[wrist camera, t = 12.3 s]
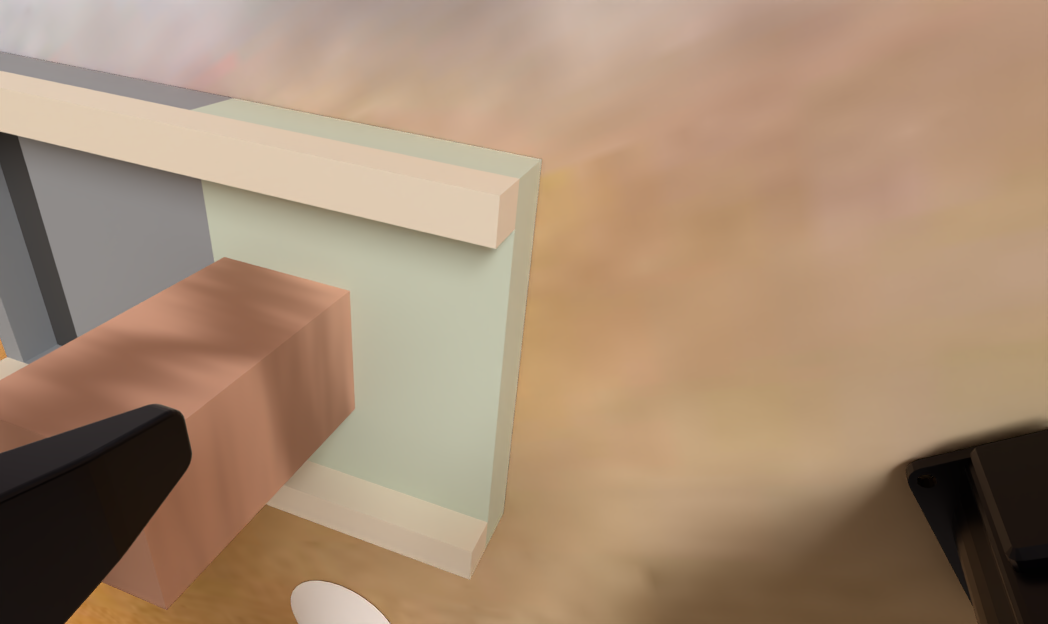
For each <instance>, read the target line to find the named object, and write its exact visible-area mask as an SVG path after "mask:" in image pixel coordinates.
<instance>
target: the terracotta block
mask: <svg viewBox="0 0 1048 624" xmlns="http://www.w3.org/2000/svg"><path fill="white" fill-rule="evenodd" d="M149 404H161V405H164V406H167V407H171V408H174V409H177V410H179V411H180V412H181V413H182V414H183V416H184V418H185V422H186V426H187V431H188V435H189V440H190V444H191V448H192V459H191V463H190V465H189V467H188V469H187V471H186V472H185V473H184V475H183V476H182V478H181V479H180V480H179V482H178V483H177V484H176V486H175V487H174V488H173V490H172V491H171V493H170V494H169V495H168V497H167V498H166V499H165V501H164V502H163V503H162V505H161V506H160V507H159V509H158V510H157V512H156V513H155V514H154V516H153V517H152V518H151V520H150V521H149V522H148V524H147V525H146V526H145V528H144V529H143V531H142V532H141V533H140V535H139V536H138V537H137V539H136V540H135V541H134V543H133V544H132V545H131V547H130V548H129V549H128V551H127V552H126V553H125V554H124V556H123V557H122V558H121V560H120V561H119V562H118V563H117V564H116V566H115V567H114V568H113V569H112V570H111V572H110V573H109V574H108V575H107V576H106V577H105V578H104V580H103V581H102V582H103V583H106V584H108V585H110V586H113V587H115V588H117V589H120V590H122V591H124V592H127V593H129V594H131V595H133V596H136V597H138V598H140V599H143V600H145V601H147V602H150V603H152V604H154V605H157V606H159V607H161V608H163V609H166V610H167V609H168V608H169V607H170V606H171V605H172V604H173V603H174V602H175V601H176V599H177V598H178V597H179V596H180V595H181V594H182V593H183V592H184V591H185V590H186V589H187V588H188V587H189V586H190V585H191V583H192V582H193V581H194V580H195V579H196V578H197V577H198V576H199V575H200V574H201V573H202V572H203V571H204V570H205V569H206V567H207V566H208V565H209V564H210V563H211V562H212V561H213V560H214V559H215V558H216V557H217V556H218V555H219V554H220V552H221V551H222V550H223V549H224V548H225V547H226V546H227V545H228V544H229V543H230V542H231V541H232V540H233V539H234V538H235V536H236V535H237V534H238V533H239V532H240V531H241V530H242V529H243V528H244V527H245V526H246V525H247V524H248V523H249V522H250V520H251V519H252V518H253V517H254V516H255V515H256V514H257V513H258V512H259V511H260V510H261V509H262V508H263V507H264V506H265V504H266V503H267V502H268V501H269V500H270V499H271V498H272V497H273V496H274V495H275V494H276V493H277V492H278V491H279V490H280V488H281V487H282V486H283V485H284V484H285V483H286V482H287V481H288V480H289V479H290V478H291V477H292V476H293V475H294V474H295V472H296V471H297V470H298V469H299V468H300V467H301V466H302V465H303V464H304V463H305V462H306V461H307V460H308V459H309V458H310V456H311V455H312V454H313V453H314V452H315V451H316V450H317V449H318V448H319V447H320V446H321V445H322V444H323V443H324V441H325V440H326V439H327V438H328V437H329V436H330V435H331V434H332V433H333V432H334V431H335V430H336V429H337V428H338V427H339V425H340V424H341V423H342V422H343V421H344V420H345V419H346V418H347V417H348V416H349V415H350V414H351V413H352V412H353V411H354V409H355V395H354V373H353V351H352V329H351V306H350V291H349V290H345V289H341V288H338V287H334V286H330V285H326V284H323V283H319V282H315V281H312V280H308V279H304V278H301V277H297V276H293V275H289V274H286V273H282V272H278V271H275V270H271V269H267V268H264V267H260V266H256V265H252V264H249V263H245V262H241V261H238V260H234V259H230V258H227V257H223V258H221V259H220V260H218V261H216V262H214V263H212V264H210V265H209V266H207V267H205V268H203V269H201V270H200V271H198V272H196V273H194V274H192V275H190V276H189V277H187V278H185V279H183V280H181V281H180V282H178V283H176V284H174V285H172V286H170V287H169V288H167V289H165V290H163V291H161V292H160V293H158V294H156V295H154V296H152V297H150V298H149V299H147V300H145V301H143V302H141V303H140V304H138V305H136V306H134V307H132V308H130V309H129V310H127V311H125V312H123V313H121V314H120V315H118V316H116V317H114V318H112V319H110V320H109V321H107V322H105V323H103V324H101V325H100V326H98V327H96V328H94V329H92V330H90V331H89V332H87V333H85V334H83V335H81V336H80V337H78V338H76V339H74V340H72V341H70V342H69V343H67V344H65V345H63V346H61V347H60V348H58V349H56V350H54V351H52V352H50V353H49V354H47V355H45V356H43V357H41V358H39V359H38V360H36V361H34V362H32V363H30V364H29V365H27V366H25V367H23V368H21V369H19V370H18V371H16V372H14V373H12V374H10V375H9V376H7V377H5V378H3V379H1V380H0V453H2V452H5V451H8V450H11V449H14V448H17V447H20V446H23V445H26V444H29V443H32V442H36V441H39V440H42V439H45V438H48V437H51V436H54V435H57V434H60V433H63V432H66V431H69V430H72V429H75V428H78V427H81V426H84V425H87V424H91V423H94V422H97V421H100V420H103V419H106V418H109V417H112V416H115V415H118V414H121V413H124V412H127V411H130V410H133V409H136V408H139V407H142V406H146V405H149Z"/></svg>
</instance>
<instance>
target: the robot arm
mask: <svg viewBox="0 0 1048 624" xmlns="http://www.w3.org/2000/svg"><path fill="white" fill-rule="evenodd" d="M191 459H192V448H191V444H190V440H189V435H188V431H187V426H186V422H185V418H184V416H183V414H182V413H181V412H180V411H179V410H177V409H174V408H171V407H167V406H164V405H161V404H149V405H146V406H142V407H139V408H136V409H133V410H130V411H127V412H124V413H121V414H118V415H115V416H112V417H109V418H106V419H103V420H100V421H97V422H94V423H91V424H87V425H84V426H81V427H78V428H75V429H72V430H69V431H66V432H63V433H60V434H57V435H54V436H51V437H48V438H45V439H42V440H39V441H36V442H32V443H29V444H26V445H23V446H20V447H17V448H14V449H11V450H8V451H5V452H2V453H0V624H65V623H66V621H67V620H68V619H69V618H70V617H71V616H72V615H73V614H74V612H75V611H76V610H77V609H78V608H79V607H80V606H81V604H82V603H83V602H84V601H85V600H86V599H87V598H88V597H89V595H90V594H91V593H92V592H93V591H94V590H95V589H96V587H97V586H98V585H99V584H100V583H101V582H102V581H103V580H104V578H105V577H106V576H107V575H108V574H109V573H110V572H111V570H112V569H113V568H114V567H115V566H116V564H117V563H118V562H119V561H120V560H121V558H122V557H123V556H124V554H125V553H126V552H127V551H128V549H129V548H130V547H131V545H132V544H133V543H134V541H135V540H136V539H137V537H138V536H139V535H140V533H141V532H142V531H143V529H144V528H145V526H146V525H147V524H148V522H149V521H150V520H151V518H152V517H153V516H154V514H155V513H156V512H157V510H158V509H159V507H160V506H161V505H162V503H163V502H164V501H165V499H166V498H167V497H168V495H169V494H170V493H171V491H172V490H173V488H174V487H175V486H176V484H177V483H178V482H179V480H180V479H181V478H182V476H183V475H184V473H185V472H186V471H187V469H188V467H189V465H190V463H191ZM906 475H907V479H908V484H909V486H910V488H911V490H912V492H913V494H914V496H915V498H916V500H917V502H918V503H919V505H920V507H921V509H922V511H923V513H924V515H925V517H926V519H927V520H928V522H929V524H930V526H931V528H932V530H933V532H934V534H935V536H936V537H937V539H938V541H939V543H940V545H941V547H942V549H943V551H944V553H945V554H946V556H947V558H948V560H949V562H950V564H951V566H952V568H953V570H954V572H955V573H956V575H957V577H958V579H959V581H960V583H961V585H962V587H963V589H964V590H965V592H966V594H967V596H968V598H969V600H970V602H971V604H972V606H973V608H974V611H975V615H976V618H977V622H978V624H1048V430H1045V431H1041V432H1036V433H1032V434H1028V435H1023V436H1019V437H1015V438H1010V439H1006V440H1002V441H997V442H993V443H989V444H985V445H980V446H976V447H972V448H967V449H963V450H959V451H954V452H950V453H946V454H941V455H937V456H933V457H928V458H924V459H920V460H917V461H914V462H912V463H911V464H910V465H908V466H907V469H906ZM922 475H931V476H933V477H931V478H929V479H921V478H919V476H922Z"/></svg>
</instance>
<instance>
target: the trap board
mask: <svg viewBox="0 0 1048 624" xmlns="http://www.w3.org/2000/svg"><path fill="white" fill-rule="evenodd" d="M541 164H542V159H538V158H533V157H528V156H523V155H518V154H513V153H508V152H503V151H498V150H493V149H488V148H483V147H478V146H472V145H467V144H462V143H457V142H452V141H447V140H442V139H437V138H432V137H427V136H422V135H417V134H412V133H407V132H402V131H397V130H392V129H387V128H382V127H377V126H372V125H367V124H362V123H357V122H352V121H347V120H342V119H337V118H332V117H327V116H322V115H316V114H311V113H306V112H301V111H296V110H291V109H286V108H281V107H276V106H271V105H266V104H261V103H256V102H251V101H246V100H241V99H236V98H231V97H226V96H221V95H216V94H211V93H206V92H201V91H196V90H191V89H186V88H181V87H176V86H171V85H165V84H160V83H155V82H150V81H145V80H140V79H135V78H130V77H125V76H120V75H115V74H110V73H105V72H100V71H95V70H90V69H85V68H80V67H75V66H70V65H65V64H60V63H55V62H50V61H45V60H40V59H35V58H30V57H25V56H20V55H14V54H9V53H4V52H0V338H1V341H2V344H3V347H4V349H5V352H6V355H7V358H5V359H3V360H1V361H0V380H1V379H3V378H5V377H7V376H9V375H10V374H12V373H14V372H16V371H18V370H19V369H21V368H23V367H25V366H27V365H29V364H30V363H32V362H34V361H36V360H38V359H39V358H41V357H43V356H45V355H47V354H49V353H50V352H52V351H54V350H56V349H58V348H60V347H61V346H63V345H65V344H67V343H69V342H70V341H72V340H74V339H76V338H78V337H80V336H81V335H83V334H85V333H87V332H89V331H90V330H92V329H94V328H96V327H98V326H100V325H101V324H103V323H105V322H107V321H109V320H110V319H112V318H114V317H116V316H118V315H120V314H121V313H123V312H125V311H127V310H129V309H130V308H132V307H134V306H136V305H138V304H140V303H141V302H143V301H145V300H147V299H149V298H150V297H152V296H154V295H156V294H158V293H160V292H161V291H163V290H165V289H167V288H169V287H170V286H172V285H174V284H176V283H178V282H180V281H181V280H183V279H185V278H187V277H189V276H190V275H192V274H194V273H196V272H198V271H200V270H201V269H203V268H205V267H207V266H209V265H210V264H212V263H214V262H216V261H218V260H220V259H221V258H223V257H227V258H230V259H234V260H238V261H241V262H245V263H249V264H252V265H256V266H260V267H264V268H267V269H271V270H275V271H278V272H282V273H286V274H289V275H293V276H297V277H301V278H304V279H308V280H312V281H315V282H319V283H323V284H326V285H330V286H334V287H338V288H341V289H345V290H349V291H350V306H351V329H352V351H353V373H354V395H355V409H354V411H353V412H352V413H351V414H350V415H349V416H348V417H347V418H346V419H345V420H344V421H343V422H342V423H341V424H340V425H339V427H338V428H337V429H336V430H335V431H334V432H333V433H332V434H331V435H330V436H329V437H328V438H327V439H326V440H325V441H324V443H323V444H322V445H321V446H320V447H319V448H318V449H317V450H316V451H315V452H314V453H313V454H312V455H311V456H310V458H309V459H308V460H307V461H306V462H305V463H304V464H303V465H302V466H301V467H300V468H299V469H298V470H297V471H296V472H295V474H294V475H293V476H292V477H291V478H290V479H289V480H288V481H287V482H286V483H285V484H284V485H283V486H282V487H281V488H280V490H279V491H278V492H277V493H276V494H275V495H274V496H273V497H272V498H271V499H270V500H269V501H268V502H267V503H266V505H269V506H271V507H274V508H277V509H279V510H282V511H285V512H288V513H290V514H293V515H296V516H298V517H301V518H304V519H307V520H309V521H312V522H315V523H317V524H320V525H323V526H325V527H328V528H331V529H334V530H336V531H339V532H342V533H344V534H347V535H350V536H353V537H355V538H358V539H361V540H363V541H366V542H369V543H372V544H374V545H377V546H380V547H382V548H385V549H388V550H390V551H393V552H396V553H399V554H401V555H404V556H407V557H409V558H412V559H415V560H418V561H420V562H423V563H426V564H428V565H431V566H434V567H437V568H439V569H442V570H445V571H447V572H450V573H453V574H455V575H458V576H461V577H464V578H466V579H469V580H470V579H471V577H472V575H473V573H474V571H475V569H476V567H477V565H478V563H479V561H480V559H481V557H482V555H483V553H484V551H485V549H486V547H487V545H488V543H489V541H490V539H491V537H492V535H493V533H494V531H495V529H496V527H497V525H498V523H499V521H500V519H501V517H502V515H503V513H504V504H505V494H506V485H507V476H508V467H509V458H510V448H511V439H512V430H513V421H514V412H515V403H516V393H517V384H518V375H519V366H520V357H521V347H522V338H523V329H524V320H525V311H526V302H527V292H528V283H529V274H530V265H531V256H532V247H533V237H534V228H535V219H536V210H537V201H538V191H539V182H540V173H541Z"/></svg>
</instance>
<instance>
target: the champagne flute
mask: <svg viewBox="0 0 1048 624" xmlns="http://www.w3.org/2000/svg"><path fill="white" fill-rule="evenodd" d="M291 607H292V611H293V614H294V616H295V618H296V620H297V622H298V624H390V623H389V622H388V620H387V619H386V618H385V617H384V615H383V614H382V613H381V612H380V611H379V610H378V609H377V608H375V607H374V606H373V605H372V604H371V603H370V602H368V601H367V600H366V599H364V598H363V597H361V596H360V595H358V594H356V593H355V592H353V591H351V590H349V589H347V588H344V587H342V586H340V585H337V584H333V583H330V582H325V581H307V582H304V583H301V584H300V585H298V586H297V587H296V588H295V589H294V590H293V592H292V595H291Z"/></svg>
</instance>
